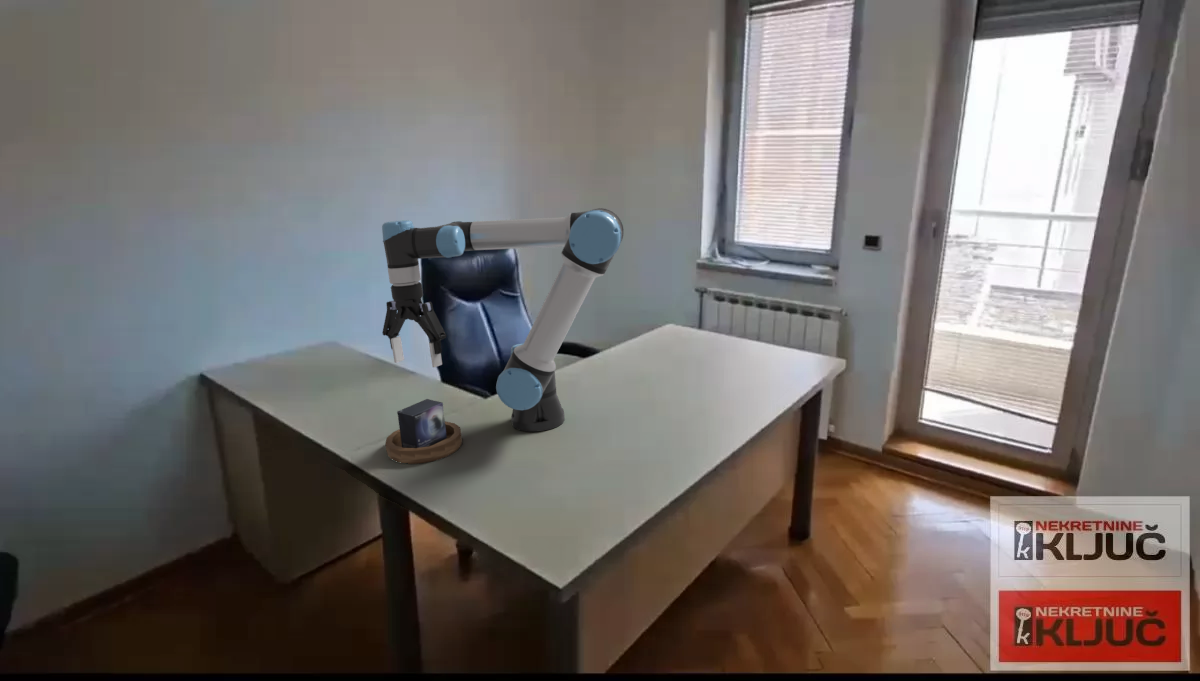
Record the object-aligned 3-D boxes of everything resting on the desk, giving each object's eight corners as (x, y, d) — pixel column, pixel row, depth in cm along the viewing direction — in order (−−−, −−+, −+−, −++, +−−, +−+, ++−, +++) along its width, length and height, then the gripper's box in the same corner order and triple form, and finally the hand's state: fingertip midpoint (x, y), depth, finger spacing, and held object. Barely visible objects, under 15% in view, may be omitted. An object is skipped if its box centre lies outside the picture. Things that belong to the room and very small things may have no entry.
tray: (476, 440, 166) (475, 427, 165) (423, 469, 151) (421, 456, 150) (427, 428, 176) (425, 417, 175) (372, 455, 161) (370, 442, 160)
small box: (418, 453, 157) (412, 415, 154) (401, 449, 160) (395, 411, 158) (448, 438, 166) (443, 401, 163) (431, 434, 169) (426, 398, 166)
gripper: (453, 281, 152) (464, 363, 158) (382, 279, 165) (395, 355, 170) (431, 287, 146) (443, 372, 152) (360, 284, 158) (373, 363, 164)
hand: (418, 363), depth 161 cm, fingers open, 13 cm apart
